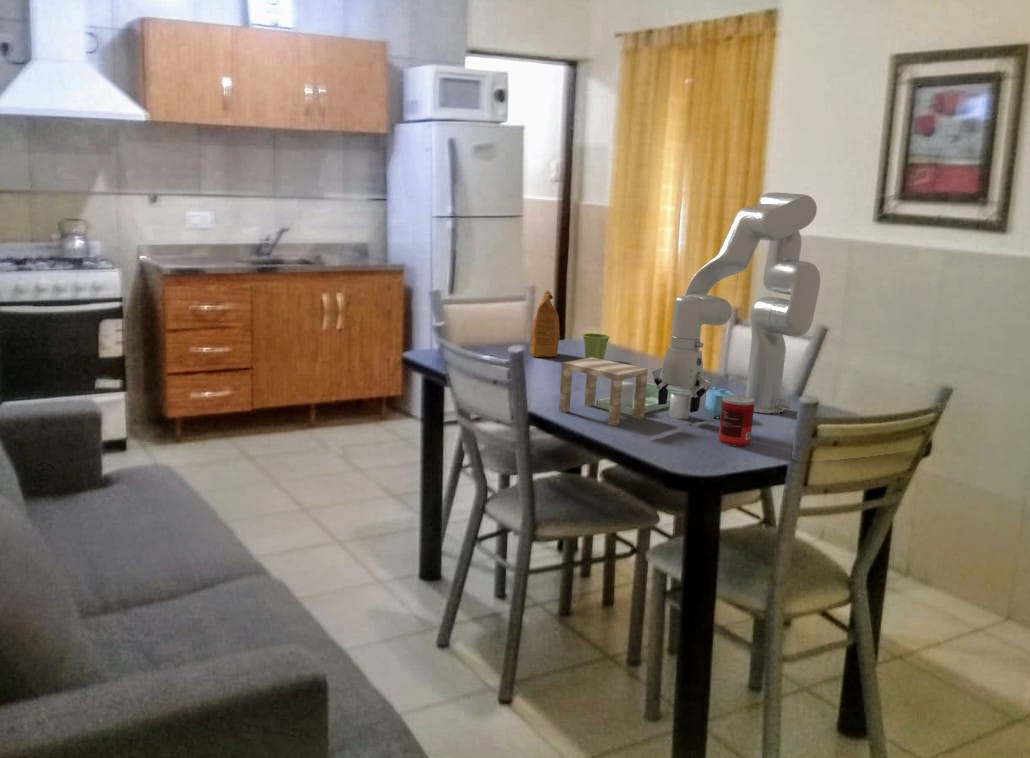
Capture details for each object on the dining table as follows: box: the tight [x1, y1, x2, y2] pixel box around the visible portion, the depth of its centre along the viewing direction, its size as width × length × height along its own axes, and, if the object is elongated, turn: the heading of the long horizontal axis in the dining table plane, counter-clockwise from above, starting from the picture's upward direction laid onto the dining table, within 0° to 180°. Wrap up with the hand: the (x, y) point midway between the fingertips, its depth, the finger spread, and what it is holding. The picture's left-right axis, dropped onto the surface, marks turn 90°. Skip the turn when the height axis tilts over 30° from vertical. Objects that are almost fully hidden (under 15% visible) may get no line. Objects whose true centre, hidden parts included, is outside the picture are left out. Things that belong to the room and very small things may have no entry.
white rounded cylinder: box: [621, 381, 636, 408], centre depth 263 cm, size 5×5×7 cm
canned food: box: [718, 394, 755, 447], centre depth 238 cm, size 8×8×11 cm
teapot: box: [704, 386, 736, 418], centre depth 266 cm, size 12×6×8 cm, turn 10°
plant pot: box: [581, 332, 611, 360], centre depth 335 cm, size 9×9×9 cm
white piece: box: [668, 392, 692, 420], centre depth 258 cm, size 5×5×7 cm
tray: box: [595, 382, 685, 417], centre depth 269 cm, size 12×24×4 cm, turn 139°
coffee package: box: [529, 290, 561, 358], centre depth 337 cm, size 10×12×22 cm
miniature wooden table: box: [558, 357, 649, 427], centre depth 255 cm, size 18×13×14 cm
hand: (677, 407), depth 258 cm, fingers open, 9 cm apart
